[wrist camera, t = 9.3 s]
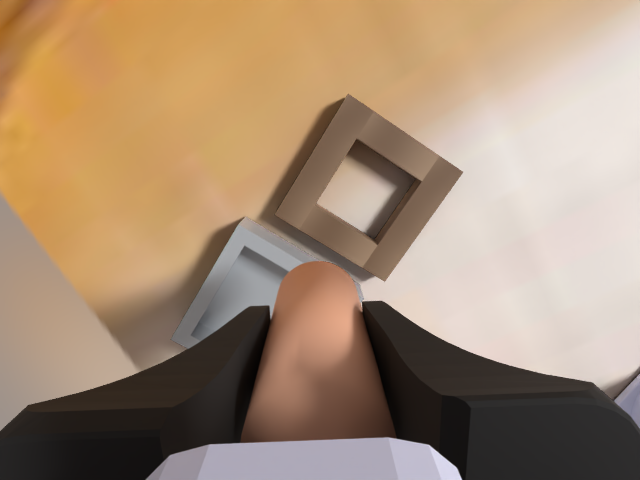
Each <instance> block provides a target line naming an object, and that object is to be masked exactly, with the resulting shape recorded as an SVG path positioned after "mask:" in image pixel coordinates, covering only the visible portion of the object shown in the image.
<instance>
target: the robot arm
mask: <svg viewBox="0 0 640 480" xmlns="http://www.w3.org/2000/svg"><path fill="white" fill-rule="evenodd" d="M362 313H363V317H364V321H365V325H366V328H367V332H368V335H369V338H370V341H371V345H372V348H373V351H374V355H375V359H376V363H377V366H378V370H379V374H380V377H381V381H382V385H383V388H384V392H385V396H386V399H387V403H388V407H389V411H390V414H391V418H392V422H393V425H394V429H395V434H396V439H394V438H389V437H385V438H360V439H334V440H309V441H284V442H258V443H241V435H242V431H243V427H244V423H245V419H246V415H247V411H248V407H249V403H250V399H251V395H252V391H253V388H254V384H255V380H256V376H257V372H258V368H259V364H260V360H261V356H262V352H263V348H264V344H265V341H266V337H267V333H268V329H269V325H270V321H271V318H270V305H264V306H249V307H247V308H246V309H245V310H243V311H242V312H240V313H239V314H238V315H237V316H235V317H234V318H233V319H231V320H230V321H229V322H227V323H226V324H225V325H223V326H222V327H221V328H219V329H218V330H217V331H215V332H214V333H212V334H211V335H209V336H208V337H206V338H205V339H203V340H202V341H200V342H199V343H197V344H196V345H194V346H192V347H191V348H189V349H187V350H185V351H184V352H182V353H180V354H178V355H176V356H174V357H172V358H170V359H169V360H167V361H164V362H162V363H160V364H158V365H155V366H153V367H151V368H148V369H146V370H144V371H141V372H139V373H137V374H134V375H132V376H129V377H127V378H124V379H121V380H118V381H115V382H113V383H110V384H107V385H103V386H100V387H97V388H94V389H90V390H87V391H84V392H80V393H76V394H72V395H68V396H64V397H61V398H56V399H52V400H48V401H44V402H40V403H35V404H31V405H28V406H27V407H26V408H25V409H24V410H22V411H21V412H20V413H19V414H18V415H17V416H16V417H15V418H14V419H13V420H12V421H11V422H10V423H8V424H7V425H6V426H5V427H4V428H3V429H2V430H1V431H0V480H640V374H639V375H638V376H637V377H636V378H635V379H634V380H633V381H632V382H631V383H630V384H629V385H628V386H627V388H626V389H625V390H624V391H623V392H622V393H621V394H620V395H619V396H618V397H617V398H616V399H615V400H614V401H613V400H612V399H611V398H609V397H608V396H607V395H606V394H605V393H604V392H603V391H602V390H600V389H599V388H598V387H597V386H596V385H595V384H594V383H592V382H586V381H580V380H575V379H569V378H563V377H557V376H552V375H546V374H541V373H537V372H533V371H529V370H525V369H521V368H517V367H513V366H509V365H506V364H502V363H499V362H496V361H493V360H490V359H487V358H484V357H482V356H479V355H476V354H473V353H471V352H468V351H466V350H463V349H461V348H459V347H457V346H455V345H452V344H450V343H448V342H446V341H444V340H442V339H440V338H438V337H436V336H435V335H433V334H431V333H429V332H428V331H426V330H424V329H423V328H421V327H419V326H418V325H416V324H415V323H413V322H412V321H410V320H409V319H407V318H406V317H404V316H403V315H402V314H400V313H399V312H397V311H396V310H395V309H393V308H392V307H391V306H389V305H388V304H386V303H385V302H383V301H365V302H362Z"/></svg>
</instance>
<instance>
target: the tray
mask: <svg viewBox="0 0 640 480" xmlns="http://www.w3.org/2000/svg"><path fill="white" fill-rule="evenodd" d="M312 261H319V260H318V259H316V258H314V257H313V256H311V255H309V254H308V253H306V252H304V251H303V250H301V249H299V248H298V247H296V246H294V245H293V244H291V243H289V242H288V241H286V240H284V239H282V238H281V237H279V236H277V235H276V234H274V233H272V232H271V231H269V230H267V229H266V228H264V227H262V226H261V225H259V224H257V223H256V222H254V221H252V220H251V219H249V218H247V217H245V218H244V219H243V220H242V221H241V222H240V223H239V224H238V226H237V227H236V229H235V231H234V232H233V234H232V236H231V238H230V239H229V241H228V243H227V244H226V246H225V248H224V250H223V251H222V253H221V255H220V256H219V258H218V260H217V261H216V263H215V265H214V267H213V268H212V270H211V272H210V273H209V275H208V277H207V278H206V280H205V282H204V284H203V285H202V287H201V289H200V290H199V292H198V294H197V295H196V297H195V299H194V301H193V302H192V304H191V306H190V307H189V309H188V311H187V313H186V314H185V316H184V318H183V319H182V321H181V323H180V324H179V326H178V328H177V330H176V331H175V333H174V335H173V336H172V338H171V340H172V341H174V342H176V343H178V344H180V345H182V346H184V347H186V348H187V349H189V348H191V347H192V346H194V345H196V344H197V343H199V342H200V341H202V340H203V339H205V338H206V337H208V336H209V335H211V334H212V333H214V332H215V331H217V330H218V329H219V328H221V327H222V326H223V325H225V324H226V323H227V322H229V321H230V320H231V319H233V318H234V317H235V316H237V315H238V314H239V313H240V312H242V311H243V310H245V309H246V308H247V307H249V306H264V305H270V318H271V317H272V313H273V309H274V305H275V301H276V297H277V293H278V290H279V286H280V284H281V282H282V280H283V279H284V277H285V276H286V275H287V274H288V273H289V272H290V271H291V270H292V269H294V268H295V267H297V266H299V265H301V264H303V263H307V262H312ZM353 282H354V283H355V286H356V289H357V292H358V296H359V300H360V303H361V302H362V300H363V299H364V298H363V294H362V291H361V287H360V284H358V283H356V282H355V281H353Z"/></svg>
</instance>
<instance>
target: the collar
mask: <svg viewBox="0 0 640 480" xmlns="http://www.w3.org/2000/svg"><path fill="white" fill-rule="evenodd" d="M355 140H358V141H359V142H361V143H362V144H364V145H365V146H367V147H368V148H370V149H371V150H373V151H374V152H376V153H377V154H379V155H380V156H382V157H383V158H385V159H386V160H388V161H389V162H391V163H392V164H394V165H395V166H397V167H398V168H400V169H402V170H403V171H405V172H406V173H408V174H409V175H411V176H412V177H414V178H415V179H416V180H415V181H414V183H413V184H412V186H411V187H410V189H409V190H408V191H407V193H406V194H405V196H404V197H403V199H402V200H401V202H400V203H399V205H398V206H397V207H396V209H395V210H394V212H393V213H392V215H391V216H390V218H389V219H388V221H387V222H386V223H385V225H384V226H383V228H382V229H381V231H380V232H379V234H378V235H377V237H376V238H375V239H373V238H371V237H369V236H368V235H366V234H365V233H363V232H361V231H360V230H358V229H357V228H355V227H353V226H352V225H350V224H349V223H347V222H345V221H344V220H342V219H341V218H339V217H337V216H336V215H334V214H332V213H331V212H329V211H328V210H326V209H324V208H323V207H321V206H320V205H318V204H316V202H317V201H318V199H319V197H320V196H321V194H322V193H323V191H324V189H325V188H326V186H327V185H328V183H329V182H330V180H331V178H332V177H333V175H334V174H335V172H336V170H337V169H338V167H339V166H340V164H341V163H342V161H343V159H344V158H345V156H346V155H347V153H348V151H349V150H350V148H351V147H352V145H353V144H354V142H355ZM462 173H463V172H462V171H461V170H459V169H458V168H457V167H455V166H454V165H452V164H451V163H449V162H448V161H446V160H445V159H443V158H442V157H440V156H439V155H437V154H436V153H434V152H433V151H432V150H430V149H429V148H427V147H426V146H424V145H423V144H421V143H420V142H418V141H417V140H415V139H414V138H412V137H411V136H410V135H408V134H407V133H405V132H404V131H402V130H401V129H399V128H398V127H396V126H395V125H393V124H392V123H390V122H389V121H388V120H386V119H385V118H383V117H382V116H380V115H379V114H377V113H376V112H374V111H373V110H371V109H370V108H368V107H367V106H365V105H364V104H363V103H361V102H360V101H358V100H357V99H355V98H354V97H352V96H351V95H349V94H348V95H347V96H346V98H345V99H344V101H343V103H342V104H341V106H340V108H339V109H338V111H337V113H336V114H335V116H334V118H333V119H332V121H331V123H330V124H329V126H328V127H327V129H326V131H325V132H324V134H323V136H322V137H321V139H320V141H319V142H318V144H317V146H316V147H315V149H314V150H313V152H312V154H311V155H310V157H309V159H308V160H307V162H306V164H305V165H304V167H303V169H302V170H301V172H300V173H299V175H298V177H297V178H296V180H295V182H294V183H293V185H292V187H291V188H290V190H289V192H288V193H287V195H286V197H285V198H284V200H283V201H282V203H281V205H280V206H279V208H278V210H277V211H276V213H275V215H276V216H277V217H279V218H281V219H282V220H284V221H285V222H287V223H289V224H290V225H292V226H294V227H295V228H297V229H299V230H300V231H302V232H304V233H305V234H307V235H309V236H310V237H312V238H314V239H315V240H317V241H319V242H320V243H322V244H323V245H325V246H327V247H328V248H330V249H332V250H333V251H335V252H337V253H338V254H340V255H342V256H343V257H345V258H347V259H348V260H350V261H352V262H353V263H355V264H357V265H358V266H360V267H361V268H363V269H365V270H366V271H368V272H370V273H371V274H373V275H375V276H376V277H378V278H380V279H381V280H383V281H386V279H387V278H388V276H389V275H390V274H391V272H392V271H393V270H394V268H395V267H396V265H397V264H398V263H399V261H400V260H401V258H402V257H403V256H404V254H405V253H406V251H407V250H408V249H409V247H410V246H411V244H412V243H413V242H414V240H415V239H416V237H417V236H418V235H419V233H420V232H421V230H422V229H423V228H424V226H425V225H426V223H427V222H428V221H429V219H430V218H431V216H432V215H433V214H434V212H435V211H436V209H437V208H438V207H439V205H440V204H441V202H442V201H443V200H444V198H445V197H446V195H447V194H448V193H449V191H450V190H451V188H452V187H453V186H454V184H455V183H456V182H457V180H458V179H459V177H460V176H461V175H462Z"/></svg>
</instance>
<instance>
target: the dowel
mask: <svg viewBox="0 0 640 480" xmlns="http://www.w3.org/2000/svg"><path fill="white" fill-rule="evenodd" d="M385 437H389V438H394V439H396V434H395V429H394V425H393V422H392V418H391V414H390V411H389V407H388V403H387V399H386V396H385V392H384V388H383V385H382V381H381V377H380V374H379V370H378V366H377V363H376V359H375V355H374V351H373V348H372V345H371V341H370V338H369V335H368V332H367V328H366V325H365V321H364V317H363V313H362V307H361V303H360V300H359V296H358V292H357V289H356V286H355V283H354V282H353V280H352V278H351V277H350V276H349V274H348V273H347V272H346V271H344V270H343V269H342V268H340V267H339V266H337V265H334V264H332V263H329V262H324V261H312V262H307V263H303V264H301V265H299V266H297V267H295V268H294V269H292V270H291V271H290V272H289V273H288V274H287V275H286V276H285V277H284V279H283V280H282V282H281V284H280V286H279V290H278V293H277V297H276V301H275V305H274V309H273V313H272V317H271V321H270V325H269V329H268V333H267V337H266V341H265V344H264V348H263V352H262V356H261V360H260V364H259V368H258V372H257V376H256V380H255V384H254V388H253V391H252V395H251V399H250V403H249V407H248V411H247V415H246V419H245V423H244V427H243V431H242V435H241V443H258V442H284V441H309V440H334V439H360V438H385Z"/></svg>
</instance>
